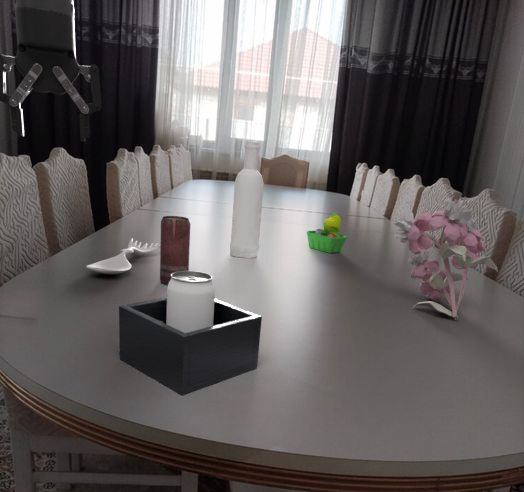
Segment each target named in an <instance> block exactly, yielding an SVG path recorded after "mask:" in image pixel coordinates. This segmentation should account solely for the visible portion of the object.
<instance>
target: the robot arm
mask: <svg viewBox="0 0 524 492" xmlns="http://www.w3.org/2000/svg"><path fill="white" fill-rule="evenodd" d="M12 1H13V5H14V17H15V29H16V30H15V31H16V41H17V52H16V54H15V56H11V55H7V54H2V53H1V52H0V102H1V103H4V104H6V105H8V107H9V109H10V120H11V121H10V122H11V129H12V131H13V132H15V133H16V132H17V137H23V138H24V137H25V126H24V125H25V124H24V113H23V108H21V105H22V104H23V102H24V101H25V99H26V98H27V97H28V95H29V94H30V93H31V92H32V90H34V91H36V92H38V93H43V94H45V93H52V94H54V95H60V96H62V95H64V94H66V93H67V94H68V96H69V97H70V99H71V100H72V101H73V102H74V104H75V105H76V106H77V108H78V109H79V111H80V113H79V117H78V118H79V139H80V142H84V143H85V142H86V139H87V138H90V135H91V125H90V124H91V123H90V115H91V114H92V113H95V112H99V111H101V110H102V109H103V108H102V107H103V105H102V104H103V103H102V93H101V92H102V91H101V80H100V69H99V67H98V65H96V64H91V65H80V64H79V63H78V60H77V55H76V54H77V53H76V31H75V29H76V28H75V6H74V0H12ZM13 66H15V67H16V69H18V71H19V72H20V74H21V75H22V76H23V79H22V81H21V82H20V83H19V85H18V86H17V87H16V90H15V91H14V92H13V94H12V95H10V94H8V93H7V77H6V76H7V75H6V74H7V73H10V72H11V69H12V67H13ZM80 74H82V75H83V77H84V79H85V81H86V82H87V83H90V87H91V99H92V102H90V103H86V102H85V100H84V99H83V98H82V96H81V94H79V92H78V90H77V89H76V88H75V86H74V85H73V84H74V82H75V81H76V79H78V77H79V75H80Z"/></svg>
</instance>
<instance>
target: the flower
mask: <svg viewBox="0 0 524 492" xmlns="http://www.w3.org/2000/svg"><path fill="white" fill-rule="evenodd" d="M463 198H464V199H461V200H460V199H456V198H455V199H454V200H453V198H452V196H450V197H448V198H447V199H445V201H444V203H443V206H444V208H445V210H436V211H435V212H434V213H433V214H432V215H431V213H430V212H422V213H421V214H419V215H417V217H416V218H414V213H413V212H411V211H405V212H402V215H403V217H401V219H400V218H398V220H397V221H396V222H395V221H392V223H393V225H395V227H398V228H396V230H397V231H396V232H395V234H394V238H396V239H399V240H398V241H399V242H400V243H403V244H406V243H407V244H408V250H409V251H410V253H412V255H410V257H407V260H408V263H409V265H411V266H415V267H414V268H413V269H412V270H411V272H410V278H411V279H413V280H416V279H418V280H422V281H423V282H420V283H419V286H418V287H419V291H420V293H421V294H423V295H426V296H425V298H429V299H431V301H430V300H429V301H420V302H419V301H418V302H417V303H415V304H414V305H413V307H412V309H414V308H416V307H418V306H421V307H423V306H425V307H428V308H432V309H434V310H435V311H437V313H441V314H446V315H448V316H449V317H451V318H453V319H454V320H455V321H457V322H458V323H459V321H460V320H459V316H458V311H459V308H460V306H461V303H462V300H463V298H464V295H465V292H466V287H467V280H468V281H469V278H468V270H469V268H470V269H473V268H476V267H477V266H478V265H485V266H487V267H488V268H489V269H491V270H495V272H496V273H498V272H499V271H498V266H497V265H496V264H495V263H494V261H493V260H492V259H491V257H490V256H480V255H478V254H477V253H481V252H484V251H486V243H485V242H484V241H483V236H482V233H481V232H480V231H479V230H477V228H478V227H479V224H478V222H479V221H478V220H479V215H477V216H476V217H475V218H474V219H473V217H474V215H472V212H473V208H471V207H468V205H467V204H465V202H466V199H467V198H466V196H464V197H463ZM464 204H465V205H464ZM467 207H468V208H467ZM444 227H445V228H444ZM442 228H444V230H443V232H442V236H441V240H440V242H439V241H438V240H437V239H436V238H435V237H434V236H433V235H432V234H430V233H428V231H430V232H432V233H433V232H436V231H438V230H440V229H442ZM445 241H446V242H445ZM444 242H445V243H444ZM433 243H434V244H436V246H437V248H438V252H439V254H440V255H441V258H442V260H443V265H444V269H445V271H444V270H439V269H438V268H440V263H439V261H438V260H437V259H429V257H430V252H429V251H428V249H430V248H431V247H432V246H433ZM421 250H423V251H421ZM450 257H452V258H451V261H450V259H449V258H450ZM428 259H429V260H428ZM450 262H451V264H450ZM451 266H452V267H453V268H455V269H456V270H463V273H462V274H461V273H458V272H454V271H452V270H451ZM437 270H438V271H437ZM458 281H461V284H460V291H459V296H458V299H457V302H456V295H455V287H454V283H455V282H458ZM443 295H444V296H445V298H446V300H447V302H448V304H449V307H450V309H451V310H450V309H447V308H446V307H444V306H443V305H442V304H439V303H438V302H435V301H436V300H441V299H442V298H443Z"/></svg>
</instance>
